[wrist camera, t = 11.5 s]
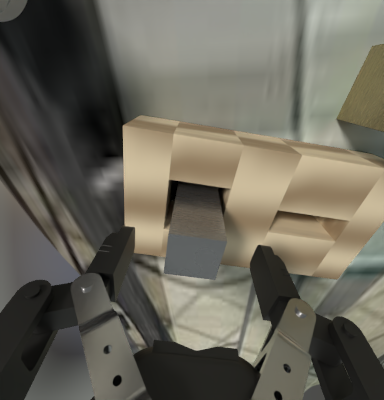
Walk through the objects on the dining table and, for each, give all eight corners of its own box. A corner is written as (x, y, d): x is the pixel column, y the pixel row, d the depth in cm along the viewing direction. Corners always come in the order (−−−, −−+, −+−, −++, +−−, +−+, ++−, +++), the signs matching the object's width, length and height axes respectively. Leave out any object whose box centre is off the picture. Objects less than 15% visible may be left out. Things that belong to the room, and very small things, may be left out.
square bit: (181, 170, 21) (168, 233, 12) (215, 175, 21) (227, 241, 12) (176, 199, 22) (163, 273, 14) (208, 204, 23) (215, 279, 14)
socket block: (140, 114, 18) (122, 125, 14) (371, 153, 19) (421, 174, 15) (138, 221, 24) (125, 251, 20) (313, 245, 25) (337, 279, 21)
